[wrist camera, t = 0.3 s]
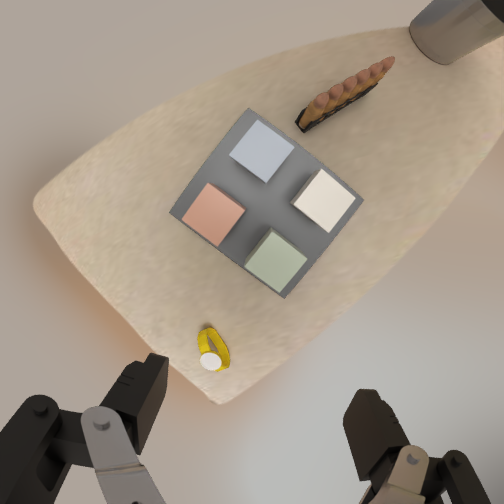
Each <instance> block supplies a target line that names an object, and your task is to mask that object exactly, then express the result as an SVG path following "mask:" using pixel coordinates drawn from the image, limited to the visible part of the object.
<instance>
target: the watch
mask: <svg viewBox="0 0 504 504" xmlns="http://www.w3.org/2000/svg"><path fill="white" fill-rule="evenodd" d="M207 335H208V336H209V338H210V339H211V340H212V342H213V343H214V345H215V346H216V348H217V349H218V352H219V353H217V352H216V351H212V350H211V348H210V346H209V343H208V337H207ZM197 340H198V346H199V350H200V352H201V354H202V355H201V357H200V363H201V365H202V366H203V367H204V368H205V369H207V370H211V371H214V370H215V371H217V372H218V371H221V370H223V369H226V368H228V367H229V365H230V356H229V352H228V349H227V346H226V345H225V343H224V342H223V340H222V339H221V337H220V336H219V335H218V333H217V332H216V330H215V329H213V328H211V327H209V328H207V329H204V330H202V331H200V332H199V334H198V339H197Z"/></svg>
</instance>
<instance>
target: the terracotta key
mask: <svg viewBox="0 0 504 504" xmlns="http://www.w3.org/2000/svg"><path fill="white" fill-rule="evenodd" d="M245 210H246V207H244V206H243V205H242V204H240V203H239V202H238V201H236V200H235V199H234V198H232V197H231V196H230V195H228V194H227V193H226V192H224V191H223V190H222V189H220V188H219V187H218V186H216V185H215V184H214V183H207V184H206V186H205V187H204V189H203V190H202V191H201V193H200V194H199V195H198V197H197V198H196V200H195V201H194V202H193V204H192V205H191V207H190V208H189V209H188V211H187V212H186V214H185V215H184V217H183V218H182V219H181V220H182V221H184V222H185V223H186V224H188V225H189V226H190V227H192V228H193V229H194V230H196V231H197V232H198V233H200V234H201V235H202V236H204V237H205V238H206V239H208V240H209V241H210V242H212V243H213V244H214V245H216V246H217V247H218V245H219V244H220V243H221V241H222V240H223V239H224V237H225V236H226V235H227V233H228V232H229V231H230V229H231V228H232V227H233V225H234V224H235V223H236V222H237V220H238V219H239V218H240V216H241V215H242V214H243V212H244V211H245Z"/></svg>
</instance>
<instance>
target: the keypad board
mask: <svg viewBox="0 0 504 504" xmlns="http://www.w3.org/2000/svg"><path fill="white" fill-rule="evenodd" d="M257 120H259V121H260V122H262V123H263V124H264V125H266V126H267V127H269V128H270V129H271V130H273V131H274V132H275V133H277V134H278V135H280V136H281V137H282V138H284V139H285V140H286V141H288V142H289V143H290V144H291V145H293V146H294V147H295V148H294V149H293V150H292V151H291V152H290V154H289V155H288V156H287V157H286V159H285V160H284V161H283V162H282V164H281V165H280V166H279V168H278V169H277V170H276V171H275V173H274V174H273V175H272V176H271V178H270V179H269V180H268V181H267V183H266V184H265V183H264V182H263V181H261V180H260V179H259V178H257V177H256V176H255V175H253V174H252V173H251V172H249V171H248V170H247V169H245V168H244V167H243V166H241V165H240V164H238V163H237V162H236V161H234V160H233V159H232V158H231V157H230V156H229V154H230V153H231V152H232V150H233V149H234V148H235V146H236V145H237V144H238V143H239V141H240V140H241V139H242V138H243V136H244V135H245V134H246V133H247V131H248V130H249V129H250V128H251V127H252V125H253V124H254V123H255V122H256V121H257ZM319 169H323V170H324V171H325V172H326V173H328V174H329V175H330V176H331V177H332V178H333V179H335V180H336V181H337V182H338V183H339V184H340V185H342V186H343V187H344V188H345V189H346V190H347V191H348V192H349V193H351V194H352V195H353V196H354V197H355V198H356V199H355V200H354V201H353V203H352V204H351V205H350V206H349V208H348V209H347V210H346V212H345V213H344V214H343V215H342V217H341V218H340V219H339V221H338V222H337V223H336V224H335V226H334V227H333V228H332V229H331V231H330V232H329V233H328V232H326V231H325V230H323V229H322V228H320V227H319V226H318V225H317V224H316V223H314V222H313V221H312V220H311V219H309V218H308V217H307V216H306V215H304V214H303V213H302V212H301V211H300V210H298V209H297V208H296V207H295V206H293V205H292V204H291V203H290V202H291V201H292V199H293V198H294V197H295V196H296V194H297V193H298V192H299V190H300V189H301V188H302V187H303V185H304V184H305V183H306V182H307V180H308V179H309V178H310V177H311V175H312V174H313V173H314V171H316V170H319ZM207 183H214V184H215V185H216V186H218V187H219V188H220V189H222V190H223V191H224V192H226V193H227V194H228V195H230V196H231V197H232V198H234V199H235V200H236V201H238V202H239V203H240V204H242V205H243V206H244V207H246V210H245V211H244V212H243V214H242V215H241V216H240V218H239V219H238V220H237V222H236V223H235V224H234V225H233V227H232V228H231V229H230V231H229V232H228V233H227V235H226V236H225V237H224V239H223V240H222V241H221V243H220V244H219V245H218V247H217V246H216V245H214V244H213V243H212V242H210V241H209V240H208V239H206V238H205V237H204V236H202V235H201V234H200V233H198V232H197V231H196V230H194V229H193V228H192V227H190V226H189V225H188V224H186V223H185V222H184V221H182V220H181V219H182V218H183V217H184V215H185V214H186V212H187V211H188V209H189V208H190V207H191V205H192V204H193V202H194V201H195V200H196V198H197V197H198V195H199V194H200V193H201V191H202V190H203V189H204V187H205V186H206V184H207ZM363 201H364V199H363V198H361V197H360V196H359V195H358V194H357V193H356V192H355V191H354V190H353V189H352V188H350V187H349V186H348V185H347V184H346V183H345V182H344V181H342V180H341V179H340V178H339V177H338V176H337V175H336V174H334V173H333V172H332V171H331V170H330V169H328V168H327V167H326V166H325V165H324V164H322V163H321V162H320V161H319V160H318V159H316V158H315V157H314V156H313V155H311V154H310V153H309V152H308V151H306V150H305V149H304V148H303V147H301V146H300V145H299V144H297V143H296V142H295V141H294V140H292V139H291V138H290V137H288V136H287V135H286V134H284V133H283V132H282V131H280V130H279V129H278V128H276V127H275V126H274V125H272V124H271V123H269V122H268V121H267V120H265V119H264V118H262V117H261V116H260V115H258V114H257V113H255V112H254V111H252V110H251V109H249V108H248V109H247V110H246V111H245V112H244V113H243V115H242V116H241V117H240V118H239V119H238V121H237V122H236V123H235V124H234V126H233V127H232V128H231V129H230V130H229V132H228V133H227V134H226V135H225V137H224V138H223V139H222V141H221V142H220V143H219V144H218V146H217V147H216V148H215V150H214V151H213V152H212V153H211V155H210V156H209V157H208V159H207V160H206V161H205V163H204V164H203V165H202V167H201V168H200V169H199V171H198V172H197V173H196V175H195V176H194V178H193V179H192V180H191V182H190V183H189V185H188V186H187V187H186V189H185V190H184V192H183V193H182V194H181V196H180V197H179V199H178V200H177V202H176V203H175V205H174V206H173V207H172V209H171V210H170V212H169V213H170V214H171V215H173V216H174V217H175V218H177V219H178V220H179V221H181V222H182V223H183V224H185V225H186V226H187V227H189V228H190V229H191V230H192V231H194V232H195V233H196V234H198V235H199V236H200V237H202V238H203V239H204V240H206V241H207V242H208V243H210V244H211V245H212V246H214V247H215V248H216V249H218V250H219V251H220V252H222V253H223V254H224V255H226V256H227V257H228V258H230V259H231V260H232V261H234V262H235V263H236V264H238V265H239V266H240V267H242V268H243V269H245V270H246V271H247V272H249V273H250V274H251V275H253V276H254V277H255V278H257V279H258V280H259V281H261V282H262V283H264V284H265V285H266V286H268V287H269V288H270V289H272V290H273V291H274V292H276V293H277V294H279V295H280V296H281V297H283V298H284V299H285V297H286V296H287V295H288V294H289V293H290V292H291V290H292V289H293V288H294V287H295V286H296V285H297V283H298V282H299V281H300V280H301V279H302V277H303V276H304V275H305V274H306V273H307V271H308V270H309V269H310V268H311V267H312V265H313V264H314V263H315V262H316V261H317V259H318V258H319V257H320V256H321V254H322V253H323V252H324V251H325V249H326V248H327V247H328V246H329V244H330V243H331V242H332V241H333V239H334V238H335V237H336V236H337V234H338V233H339V232H340V231H341V229H342V228H343V227H344V226H345V224H346V223H347V222H348V220H349V219H350V218H351V217H352V215H353V214H354V213H355V211H356V210H357V209H358V207H359V206H360V205H361V204H362V202H363ZM270 227H272V228H273V229H274V230H276V231H277V232H278V233H280V234H281V235H282V236H283V237H285V238H286V239H287V240H289V241H290V242H291V243H292V244H294V245H295V246H296V247H297V248H299V249H300V250H301V251H302V252H303V253H304V254H305V256H306V257H307V261H306V262H305V263H304V264H303V265H302V267H301V268H300V269H299V270H298V271H297V273H296V274H295V275H294V276H293V277H292V279H291V280H290V281H289V282H288V283H287V285H286V286H285V287H284V288H283V289H282V290H281V292H280V293H279V292H278V291H276V290H275V289H273V288H272V287H271V286H269V285H268V284H267V283H265V282H264V281H263V280H261V279H260V278H258V277H257V276H256V275H254V274H253V273H252V272H250V271H249V270H248V269H246V268H245V267H244V266H245V260H246V258H247V256H248V255H249V254H250V253H251V251H252V250H253V249H254V248H255V246H256V245H257V244H258V242H259V241H260V240H261V239H262V237H263V236H264V235H265V234H266V232H267V231H268V230H269V229H270Z"/></svg>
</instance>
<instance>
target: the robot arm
mask: <svg viewBox="0 0 504 504" xmlns="http://www.w3.org/2000/svg"><path fill="white" fill-rule="evenodd" d="M410 33H411V36H412V38H413V40H414V42H415V43H416V45H417V46H418V47H419V49H420V50H421V51H422V52H423V53H424V54H425V55H426V56H428V57H429V58H430V59H432V60H433V61H435V62H437V63H440V64H450V63H452V62H454V61H456V60H457V59H459V58H461V57H463V56H465V55H467V54H469V53H470V52H472V51H474V50H476V49H478V48H480V47H482V46H484V45H486V44H487V43H489V42H491V41H493V40H495V39H497V38H499V37H501V36H503V35H504V0H433V1H432V2H431V3H430V4H429V5H428V6H427V7H426V8H425V9H424V10H422V11H421V12H420V13H419V14H418V16H416V18H415V19H414V20H413V21H412V22H411V24H410ZM168 365H169V358H168V357H165V356H161V355H157V354H154V353H150V354H149V355H148V357H147V359H146V361H145V362H144V363H142V362H139V361H134V362H132V363H131V364H129V365H127V366H126V367H125V369H124V370H123V372H122V373H121V376H119V377H118V379H117V381H116V382H115V383H114V385H113V386H112V388H111V389H110V391H109V392H108V394H107V395H106V397H105V398H104V400H103V401H102V403H101V404H100V405H99V406H95V407H91V408H89V409H87V410H85V411H84V412H83V413H77V412H71V411H65V410H61V409H59V407H58V405H57V403H56V402H55V401H54V400H53V399H52V398H50V397H48V396H45V395H34V396H31V397H29V398H27V399H26V400H25V402H24V403H23V404H22V405H21V406H20V408H19V409H18V410H17V411H16V413H15V414H14V415H13V416H12V418H11V419H10V420H9V422H8V423H7V424H6V426H5V427H4V428H3V429H2V431H1V432H0V504H54V502H55V499H56V497H57V495H58V493H59V490H60V488H61V486H62V484H63V482H64V480H65V478H66V476H67V473H68V471H69V469H70V467H71V465H72V464H74V465H80V466H85V467H92V468H94V469H95V473H96V476H97V479H98V482H99V484H100V487H101V490H102V492H103V495H104V497H105V499H106V502H107V504H166V503H165V501H164V499H163V498H162V496H161V494H160V493H159V491H158V489H157V487H156V486H155V484H154V482H153V480H152V478H151V476H150V474H149V472H148V471H147V469H146V468H145V466H144V465H141V463H140V462H139V460H138V457H137V456H136V454H137V455H141V452H142V450H143V448H144V445H145V443H146V440H147V438H148V435H149V433H150V431H151V428H152V426H153V423H154V421H155V419H156V416H157V414H158V412H159V409H160V407H161V404H162V402H163V400H164V397H165V393H166V388H167V377H168ZM343 427H344V430H345V433H346V436H347V440H348V443H349V446H350V449H351V453H352V456H353V459H354V463H355V466H356V469H357V473H358V476H359V480H360V481H367V480H370V481H371V485H370V486H369V487H368V488H367V490H366V492H365V493H364V496H363V497H362V499H361V500H360V502H359V504H444V503H443V500H442V498H441V494H442V493H443V492H445V491H446V490H447V492H448V495H449V497H450V499H451V502H452V504H491V503H490V500H489V498H488V496H487V494H486V492H485V490H484V488H483V486H482V484H481V482H480V480H479V479H478V477H477V475H476V473H475V471H474V469H473V467H472V465H471V463H470V462H469V460H468V458H467V456H466V455H465V454H464V453H462V452H460V451H458V450H450V451H448V452H447V453H446V454H445V455H444V456H443V458H434V457H428V455H427V453H426V452H425V451H424V450H423V449H422V448H420V447H418V446H415V445H411V444H410V443H409V440H408V439H407V437H406V435H405V433H404V431H403V429H402V427H401V425H400V424H399V421H398V419H397V418H396V417H395V413H394V412H393V410H392V408H391V407H390V406H389V405H388V404H387V403H386V402H385V401H384V400H381V398H380V396H379V394H378V392H377V391H376V390H374V389H359V390H358V391H357V392H356V394H355V395H354V398H353V399H352V401H351V403H350V405H349V407H348V409H347V410H346V412H345V414H344V418H343Z"/></svg>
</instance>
